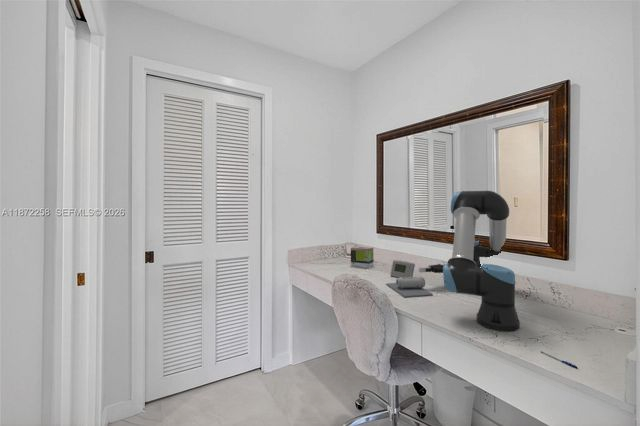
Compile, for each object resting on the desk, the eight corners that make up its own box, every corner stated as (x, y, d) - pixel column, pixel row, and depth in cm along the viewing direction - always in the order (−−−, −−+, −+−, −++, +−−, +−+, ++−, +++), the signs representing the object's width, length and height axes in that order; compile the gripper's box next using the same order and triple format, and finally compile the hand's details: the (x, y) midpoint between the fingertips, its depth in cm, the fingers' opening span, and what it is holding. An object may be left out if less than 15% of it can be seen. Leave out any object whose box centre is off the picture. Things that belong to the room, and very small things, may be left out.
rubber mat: (432, 295, 158) (432, 294, 158) (404, 297, 155) (404, 296, 155) (411, 283, 182) (411, 281, 182) (386, 284, 179) (386, 283, 179)
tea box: (373, 266, 230) (373, 247, 229) (368, 268, 221) (368, 248, 221) (356, 264, 238) (355, 245, 237) (350, 266, 229) (350, 247, 229)
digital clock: (388, 276, 200) (388, 260, 199) (398, 274, 204) (398, 258, 204) (407, 281, 186) (407, 264, 185) (417, 279, 190) (417, 262, 190)
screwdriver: (578, 369, 89) (578, 365, 89) (576, 369, 89) (576, 366, 89) (541, 352, 99) (541, 349, 99) (539, 353, 99) (539, 350, 99)
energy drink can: (422, 287, 172) (396, 288, 171) (420, 277, 174) (395, 277, 173) (426, 287, 166) (399, 288, 165) (424, 276, 168) (398, 277, 167)
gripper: (464, 276, 167) (425, 279, 163) (450, 271, 180) (413, 273, 176) (464, 263, 167) (425, 265, 163) (450, 259, 180) (413, 261, 176)
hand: (419, 269), depth 170 cm, fingers closed
